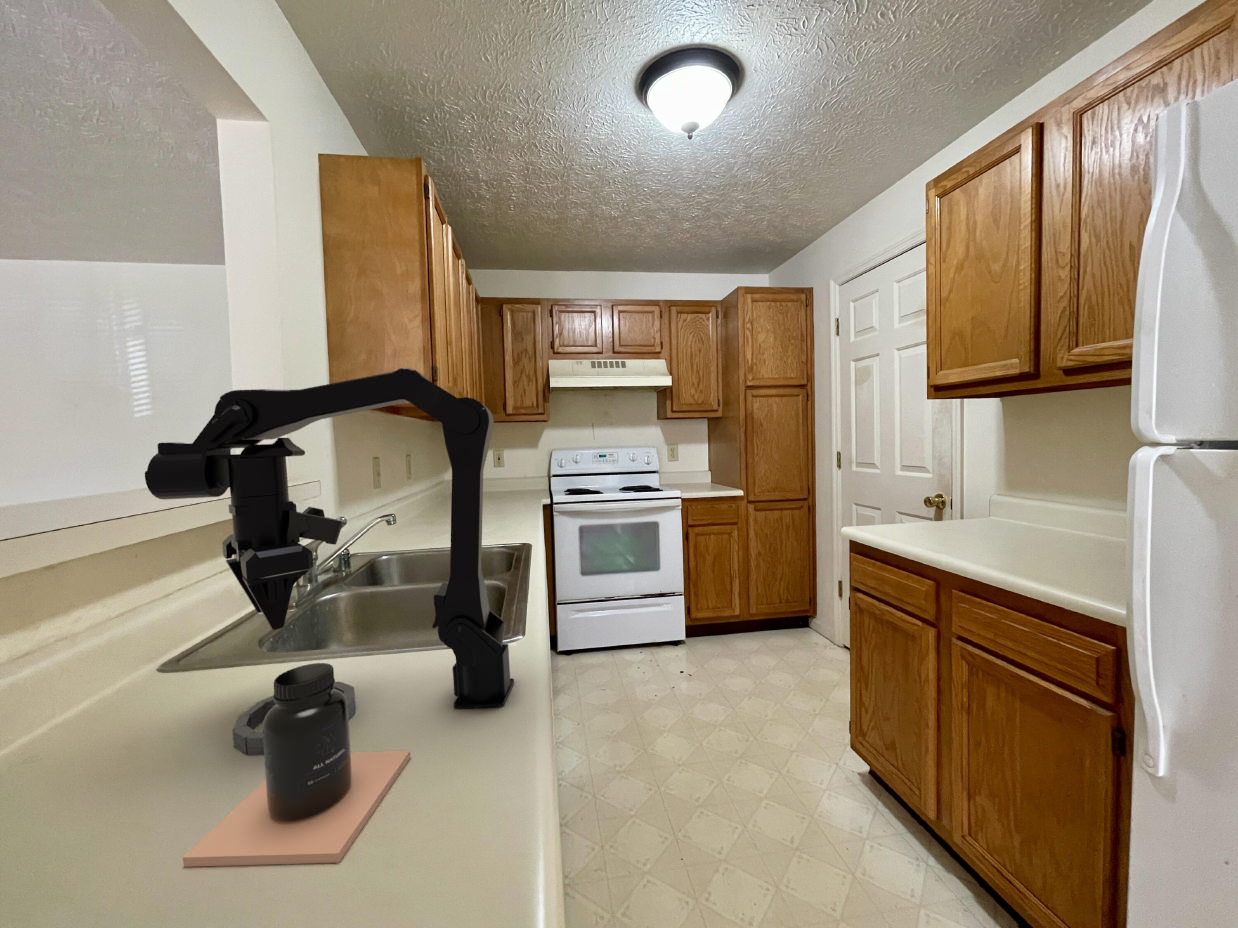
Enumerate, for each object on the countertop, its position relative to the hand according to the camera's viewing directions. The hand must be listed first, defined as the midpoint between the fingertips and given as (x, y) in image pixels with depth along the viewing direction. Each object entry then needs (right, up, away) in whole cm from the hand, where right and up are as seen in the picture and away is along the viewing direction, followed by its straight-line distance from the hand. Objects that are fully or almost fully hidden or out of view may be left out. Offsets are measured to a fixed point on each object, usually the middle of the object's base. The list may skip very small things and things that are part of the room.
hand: (269, 619), depth 60 cm
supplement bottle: (+14, -13, -14) cm, 23 cm away
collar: (+3, -13, 0) cm, 13 cm away
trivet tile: (+14, -13, -14) cm, 24 cm away
